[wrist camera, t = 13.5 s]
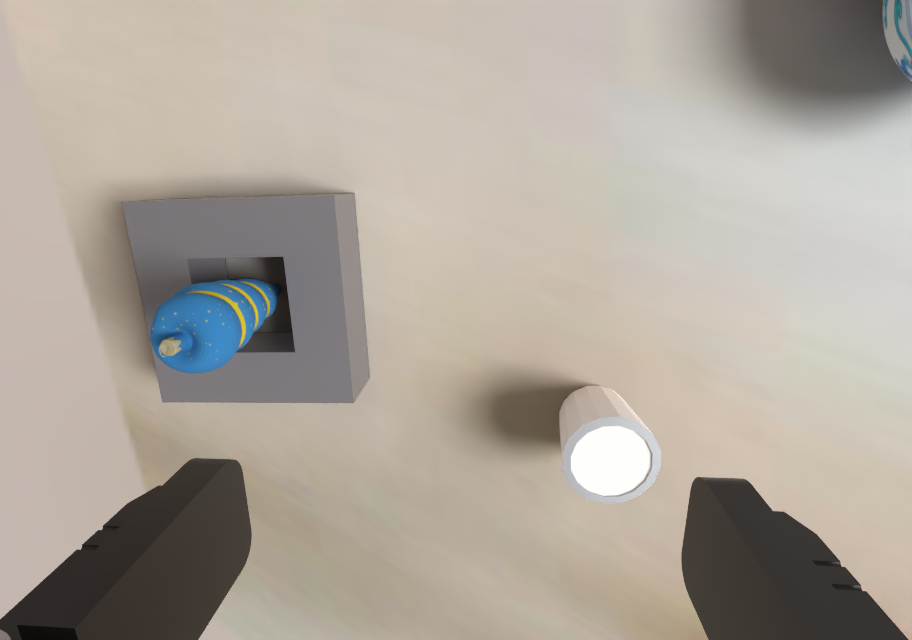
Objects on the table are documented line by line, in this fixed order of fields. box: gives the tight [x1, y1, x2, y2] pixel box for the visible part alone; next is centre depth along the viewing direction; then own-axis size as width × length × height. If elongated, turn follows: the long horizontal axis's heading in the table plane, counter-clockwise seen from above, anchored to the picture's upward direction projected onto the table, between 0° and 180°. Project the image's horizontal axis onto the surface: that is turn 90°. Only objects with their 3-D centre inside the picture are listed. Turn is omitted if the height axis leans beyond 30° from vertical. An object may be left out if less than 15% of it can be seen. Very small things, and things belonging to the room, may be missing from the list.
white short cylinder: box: [559, 385, 661, 503], centre depth 39 cm, size 7×7×7 cm
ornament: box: [150, 279, 280, 374], centre depth 34 cm, size 5×5×15 cm
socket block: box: [122, 193, 370, 403], centre depth 39 cm, size 15×15×5 cm
